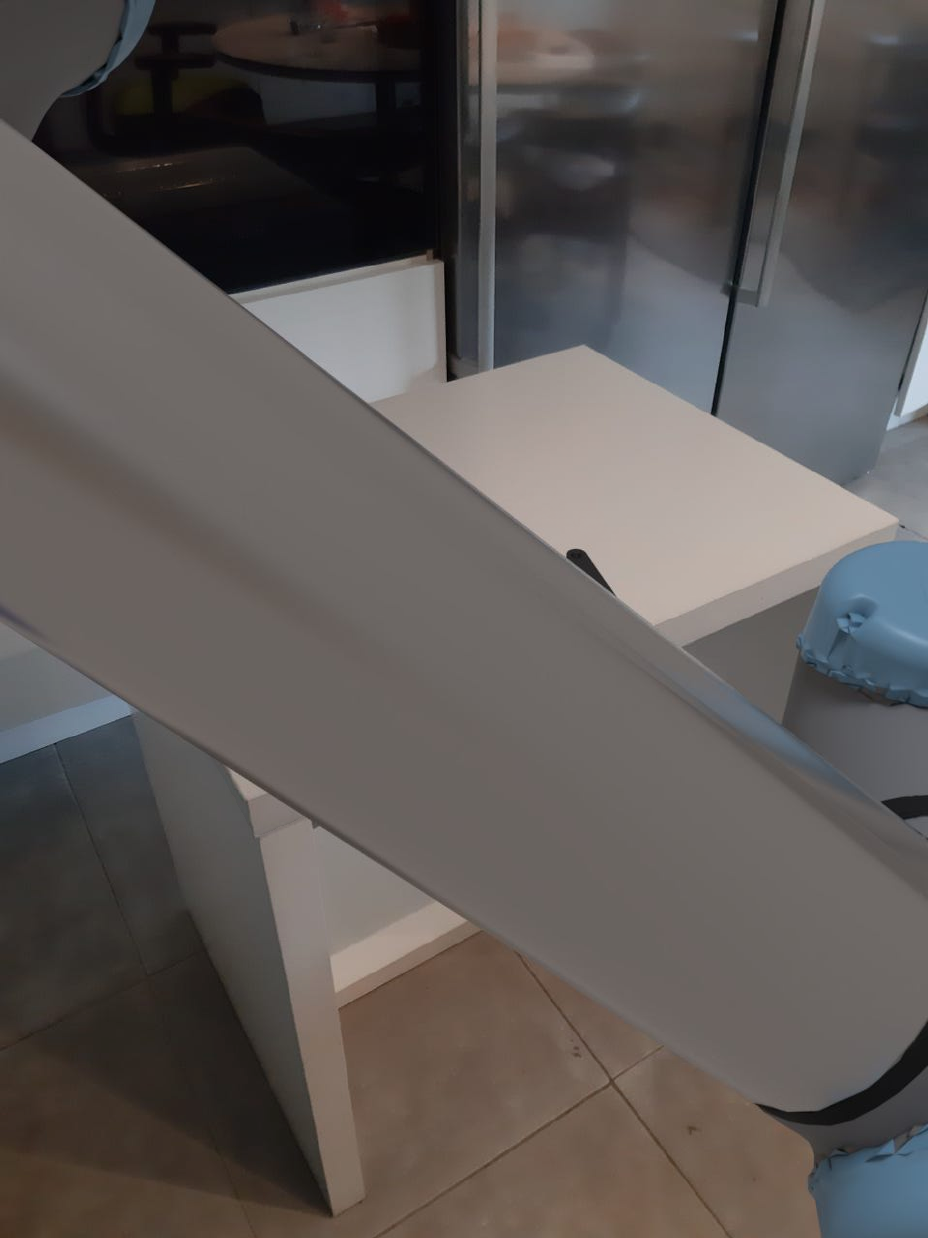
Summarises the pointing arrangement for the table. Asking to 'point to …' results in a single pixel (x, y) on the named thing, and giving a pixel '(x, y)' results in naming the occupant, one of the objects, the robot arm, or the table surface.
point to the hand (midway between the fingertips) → (369, 578)
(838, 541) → the table surface
